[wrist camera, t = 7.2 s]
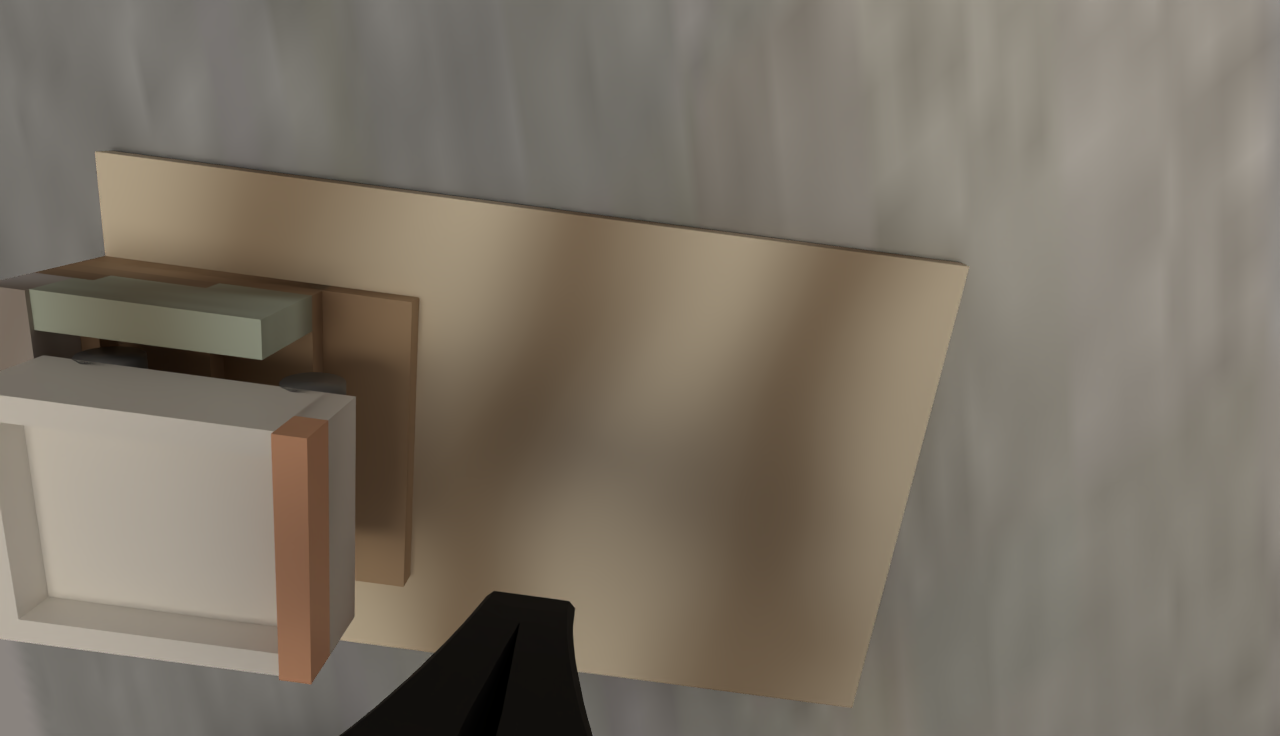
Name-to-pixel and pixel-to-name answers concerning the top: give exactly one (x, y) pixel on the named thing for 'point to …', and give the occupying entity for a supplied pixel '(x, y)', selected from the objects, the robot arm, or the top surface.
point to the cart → (176, 513)
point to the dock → (551, 403)
